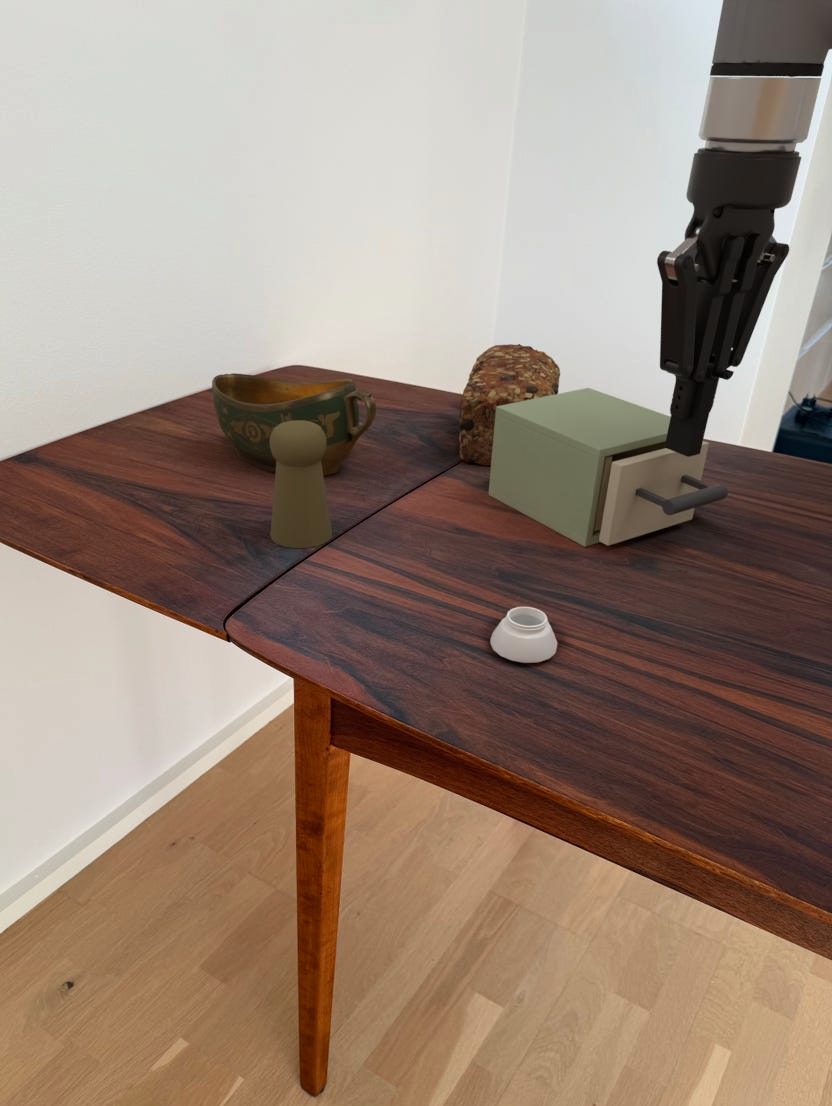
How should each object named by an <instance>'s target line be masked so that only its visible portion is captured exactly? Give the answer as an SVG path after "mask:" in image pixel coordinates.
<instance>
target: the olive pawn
mask: <svg viewBox="0 0 832 1106" xmlns="http://www.w3.org/2000/svg"><path fill="white" fill-rule="evenodd" d="M270 449H271V452H272V455H273V457H274V458H275V459H276V460H277V462H276V473H274V475H275V476H274V486H273V497H272V498H273V499H272V511H271V521H270V534H269V536H270V539H271V541H273V542H274V543H275V544H276V545H278V546H282V547H284V548H290V549H308V548H314V547H315V548H316V547H319V546H322V545H324V544H325V543H328V541H330V540H331V539H332V537H333V530H332V529H333V528H332V523H331V516H330V510H329V503H328V496H327V490H326V483H325V479H324V477H325V476H323V471H322V464H321V458H322V457H323V456H324V453H325V449H326V436H325V433H324V431H323V430H322V428H321V427H320V426H319V425H317V424H315V423H313V422H310V421H301V420H296V421H288V422H284V423H281V424H279V425H278V426H276V427H275V428H274V430H273V431H272V433H271V436H270Z"/></svg>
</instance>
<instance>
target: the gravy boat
mask: <svg viewBox="0 0 832 1106" xmlns="http://www.w3.org/2000/svg"><path fill="white" fill-rule="evenodd" d="M211 392H212V402H213V408H214V412H215V415H216V418H217V422H218V424H219V426H220V428H221V431H222V433H223V434H224V436H225V438H226V439H227V441H228V442H229V444H230V445H231V446H232V447H233V449H234V452H235V454H236V455H237V457H238V458H239V459H240V460H242V461H244V462H245V463H247V464H249V465H250V466H251V465H252V466H254V467H256V468H258V469H261V470H264V471H267V472H271V473H274V474H276V462H277V460H276V459H275V458H274V457H273V455H272V452H271V449H270V436H271V433H272V431H273V430H274V428H275V427H276V426H278V425H279V424H281V423H284V422H288V421H296V420H301V421H310V422H313V423H315V424H317V425H319V426H320V427H321V428H322V430H323V431H324V433H325V436H326V449H325V453H324V456H323V457H322V458H321V464H322V471H323V477H325V476H330V475H333V474H336V473H338V472H339V471H340V470H341V469H342V467H343V462H344V461H345V460H349V459H350V458H351V453H352V451H353V449H354V447H355V445H356V443H357V442H358V440H359V439H360V438H361V436H362V435H363V434H364V433H365V432H366V431H367V430H368V429H369V428H370V427H371V426H372V425H373V423H374V420H375V418H376V414H377V407H376V406H377V404H376V401H375V398H374V397H373V393H372V392H370V391H368V390H366V389H357V386H356V382H355V380H354V379H352V378H346V379H345V378H343V379H335V380H325V381H323V380H322V381H318V382H317V381H316V382H315V381H313V382H301V381H292V380H285V379H277V378H272V377H266V376H261V375H254V374H253V375H252V374H246V373H224V374H222V373H221V374H218V375H216V376H214V377H213V378H212V381H211ZM359 401H360V402H361V403H363V404H364V405H365V408H366V419H365V422H364V423H363V424H361V426H360V425H359V424H360V406H359ZM359 426H360V427H359Z"/></svg>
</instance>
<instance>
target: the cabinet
mask: <svg viewBox="0 0 832 1106" xmlns="http://www.w3.org/2000/svg"><path fill="white" fill-rule="evenodd" d="M670 418H671V415H670V416H669V415H667V414H664V413H662V412H659V411H656V410H653V409H649V408H647V407H645V406H641V405H638V404H635V403H633V402H630V401H627V400H624V399H621V398H619V397H616V396H613V395H610V394H608V393H604V392H602V391H598V390H596V389H593V388H590V387H585V388H580V389H575V390H570V391H565V392H561V393H558V394H555V395H550V396H545V397H541V398H536V399H531V400H526V401H521V402H516V403H511V404H506V405H501V406H497V407H496V415H495V426H494V437H493V449H492V460H491V465H490V473H489V483H488V494H487V495H488V496H489V497H491V498H493V499H495V500H497V501H499V502H501V503H503V504H505V505H506V506H508V507H510V508H511V509H514V510H515V511H517V512H519V513H521V514H523V515H525V516H526V517H529V518H531V519H532V520H534V521H536V522H537V523H540V524H541V525H543V526H545V527H547V528H549V529H551V530H553V531H554V532H556V533H558V534H559V535H561V536H564V537H566V538H568V539H570V540H571V541H573V542H575V543H577V544H579V546H580V545H581V546H582V547H584V548H586V547H589V546H590V547H591V546H593V545H596V544H599V543H601V542H600V541H599V537H600V531H601V529H600V530H596V531H594V530H593V529H594V522H595V516H596V510H597V504H598V498H599V491H600V485H601V479H602V473H603V467H604V460H605V456H609V455H613V454H617V453H621V452H625V451H629V450H633V449H637V448H641V447H645V446H649V445H653V444H657V443H661V442H665V441H666V437H667V433H668V428H669V423H670Z"/></svg>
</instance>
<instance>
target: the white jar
mask: <svg viewBox="0 0 832 1106" xmlns="http://www.w3.org/2000/svg"><path fill="white" fill-rule="evenodd" d="M556 638H557V637H556V635H555V633H554V630H553V628H552V626H551V624H550V622H549V621H548V616H547V614H546V613H545V612H543V611H542V610H541V609H538V608H535V607H532V606H517V607H513V608H511V609H509V610H508V611H507V613H506V616H505V617H504V618H502V619H501V620H500V622H499V623H498V624H497V626H496V627H495V629H494V630H493V631H492V633H491V637H490V642H489V643H490V646H491V648H492V650H493V651H494V652H495V653H497V654H498V655H499V656H500V657H503V658H505V659H507V660H509V661H512V662H518V663H523V664H529V663H530V664H531V663H532V664H533V663H541V662H543V661H546V660H550V659H551V658H552V657H553V656H554V655H555V654H556V653H557V650H558V649H557V648H558V640H557V639H556Z"/></svg>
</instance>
